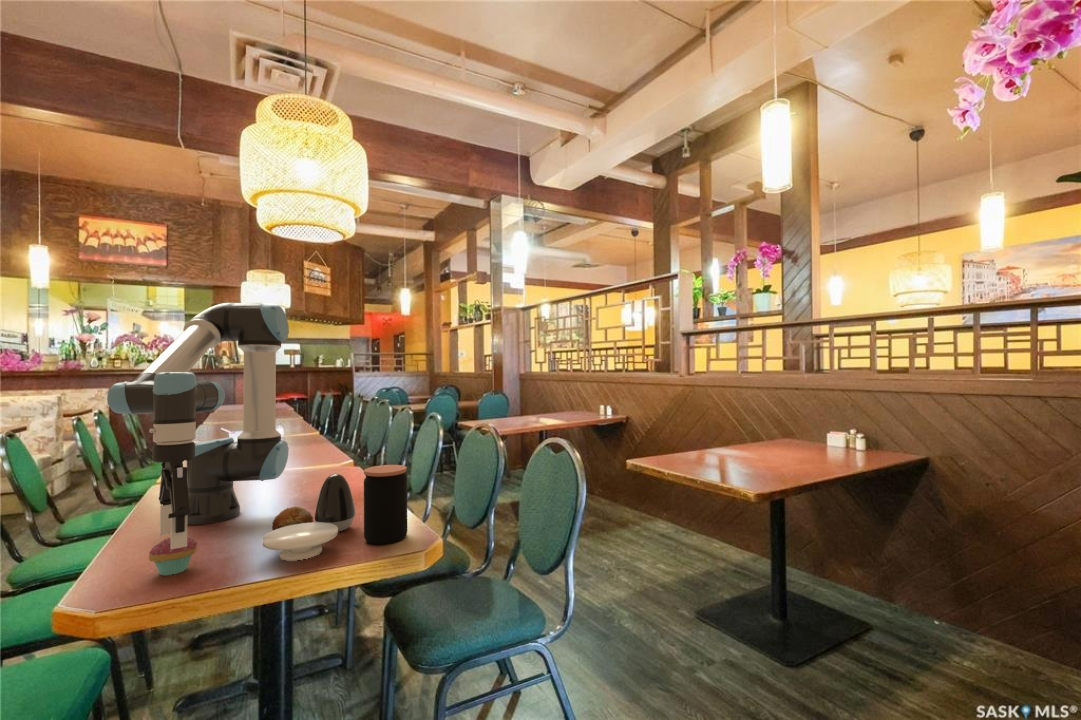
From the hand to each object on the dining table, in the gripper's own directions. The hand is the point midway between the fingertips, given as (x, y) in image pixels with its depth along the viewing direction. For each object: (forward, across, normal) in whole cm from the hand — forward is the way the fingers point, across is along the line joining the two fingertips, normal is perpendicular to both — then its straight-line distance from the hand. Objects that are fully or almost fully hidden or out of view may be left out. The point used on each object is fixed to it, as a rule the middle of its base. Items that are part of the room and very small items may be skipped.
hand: (172, 540), depth 107 cm
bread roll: (+7, -11, +28) cm, 31 cm away
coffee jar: (+7, +15, +42) cm, 45 cm away
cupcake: (+7, 0, 0) cm, 7 cm away
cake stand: (+7, +10, +23) cm, 26 cm away
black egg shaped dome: (+7, -2, +36) cm, 37 cm away
